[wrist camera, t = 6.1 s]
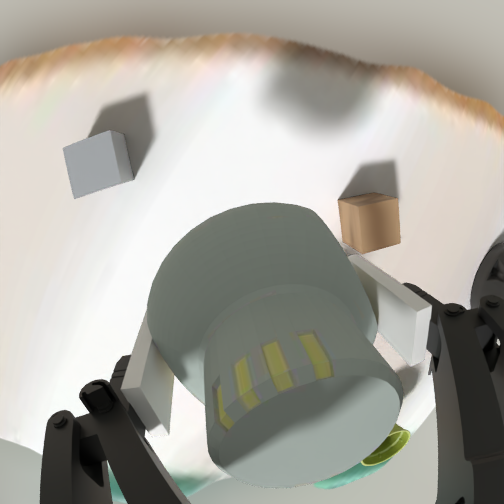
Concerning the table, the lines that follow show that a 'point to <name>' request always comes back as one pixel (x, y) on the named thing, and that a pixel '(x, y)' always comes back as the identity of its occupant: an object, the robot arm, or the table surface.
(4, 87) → the table surface
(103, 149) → the grey block
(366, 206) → the walnut block
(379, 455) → the plant pot
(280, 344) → the air freshener
